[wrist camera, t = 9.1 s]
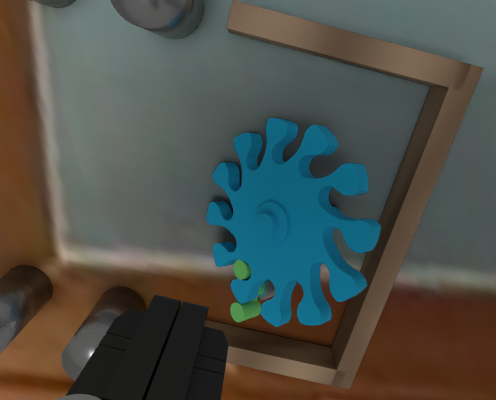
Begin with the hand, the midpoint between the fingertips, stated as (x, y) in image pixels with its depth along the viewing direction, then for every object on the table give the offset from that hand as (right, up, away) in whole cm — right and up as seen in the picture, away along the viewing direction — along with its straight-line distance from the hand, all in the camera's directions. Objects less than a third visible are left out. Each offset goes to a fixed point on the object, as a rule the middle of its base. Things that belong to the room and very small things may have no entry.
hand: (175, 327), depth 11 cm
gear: (+3, +3, +12) cm, 13 cm away
